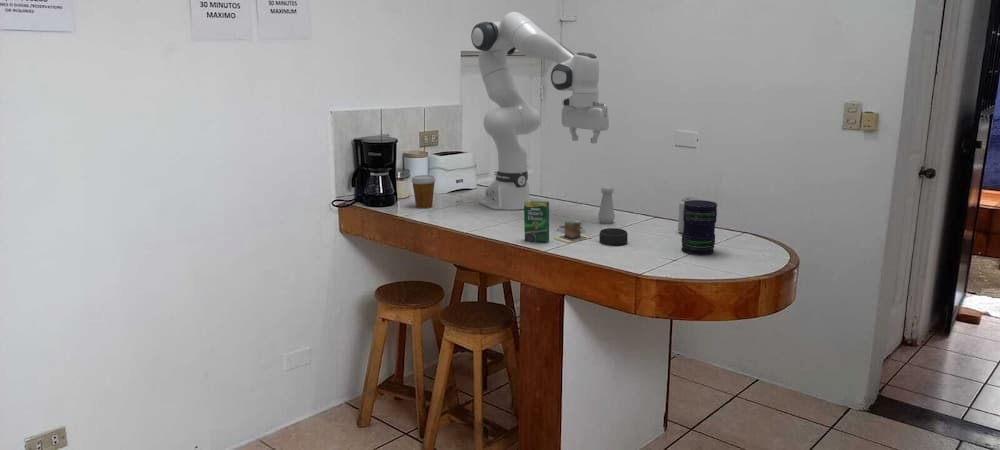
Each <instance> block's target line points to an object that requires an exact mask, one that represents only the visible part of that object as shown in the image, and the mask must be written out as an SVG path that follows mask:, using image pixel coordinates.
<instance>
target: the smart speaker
mask: <svg viewBox="0 0 1000 450" xmlns="http://www.w3.org/2000/svg"><path fill="white" fill-rule="evenodd" d="M628 234H629V233H628V232H627V230H625V229H622V228H615V227H607V228H603V229H601V230H600V231H599V235H598V237H599V239H598V240H599V242H600V243H601V244H603V245H606V246H623V245H625V244H627V242H628Z"/></svg>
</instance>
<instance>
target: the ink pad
mask: <svg viewBox="0 0 1000 450" xmlns="http://www.w3.org/2000/svg"><path fill="white" fill-rule="evenodd" d="M556 232H559V233H560V232H561V233H563V234H565V224H564V225H560V226H556ZM584 233H586V228H585V227H582V226H581V227H580V234H584Z"/></svg>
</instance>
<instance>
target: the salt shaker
mask: <svg viewBox="0 0 1000 450" xmlns="http://www.w3.org/2000/svg"><path fill="white" fill-rule="evenodd" d="M600 192H601V193H602V197H601V201H600V207H599V210H598V219H599V220H598V221H599V222H600V223H601V224H604V223H608V224H609V223H610V224H612V223H613V222H614V219H615V216H616V215H615V209H614V204H613V202H614V201H613V195H612V194H614V187H613V186H609V185H605V186H602V187H601V189H600ZM608 224H607V225H608Z"/></svg>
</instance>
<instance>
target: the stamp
mask: <svg viewBox="0 0 1000 450" xmlns="http://www.w3.org/2000/svg"><path fill="white" fill-rule="evenodd" d="M581 224H582V221H579V220H576V219H570V220H566V221H564V225H565V233H564V235H563V236H564V238H568V239H571V240H574V239H578V238H581V236H580V234H581V233H580V227H582V226H581Z"/></svg>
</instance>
